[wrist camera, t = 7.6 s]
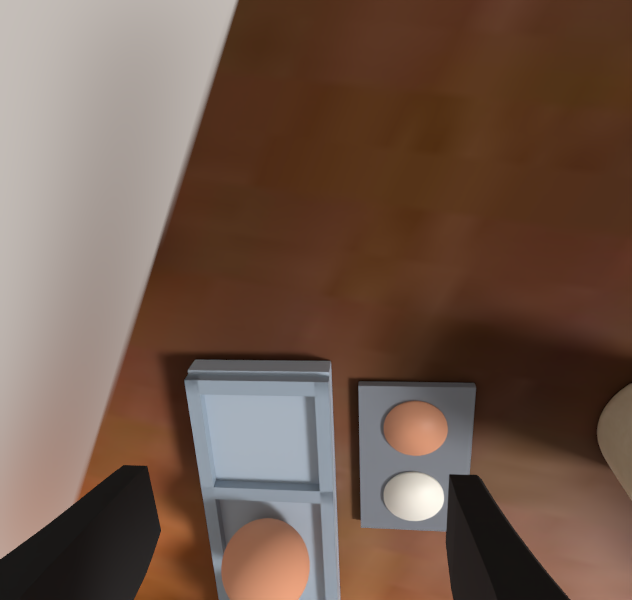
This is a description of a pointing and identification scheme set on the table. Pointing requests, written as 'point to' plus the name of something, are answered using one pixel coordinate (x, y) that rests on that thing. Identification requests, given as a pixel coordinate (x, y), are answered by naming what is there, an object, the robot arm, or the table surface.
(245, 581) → the rust ball
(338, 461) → the table surface
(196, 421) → the board
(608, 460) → the candle
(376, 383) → the card
